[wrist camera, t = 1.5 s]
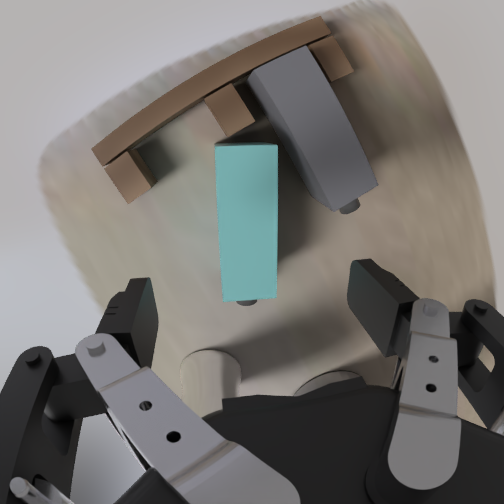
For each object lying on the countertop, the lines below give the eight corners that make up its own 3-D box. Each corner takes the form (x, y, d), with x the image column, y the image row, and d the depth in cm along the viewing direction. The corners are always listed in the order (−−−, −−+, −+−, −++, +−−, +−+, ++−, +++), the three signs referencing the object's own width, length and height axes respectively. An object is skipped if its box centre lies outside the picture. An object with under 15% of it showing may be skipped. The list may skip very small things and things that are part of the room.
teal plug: (264, 283, 26) (275, 316, 22) (221, 286, 26) (224, 320, 21) (264, 142, 22) (277, 145, 17) (214, 143, 22) (214, 146, 17)
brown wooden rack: (340, 76, 20) (354, 71, 18) (136, 196, 22) (128, 204, 20) (309, 26, 19) (320, 16, 16) (103, 146, 20) (91, 149, 18)
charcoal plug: (355, 189, 24) (386, 204, 19) (319, 211, 24) (343, 231, 20) (286, 61, 20) (306, 45, 15) (245, 82, 20) (253, 69, 15)
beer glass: (207, 403, 31) (213, 527, 17) (160, 367, 28) (144, 505, 14) (259, 373, 30) (288, 506, 16) (214, 333, 27) (223, 484, 14)
